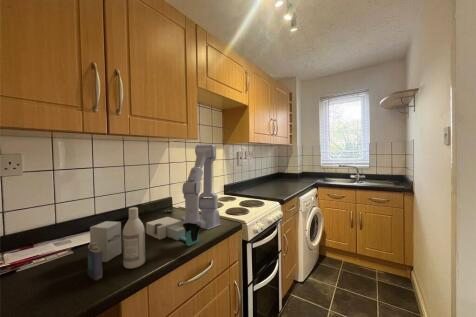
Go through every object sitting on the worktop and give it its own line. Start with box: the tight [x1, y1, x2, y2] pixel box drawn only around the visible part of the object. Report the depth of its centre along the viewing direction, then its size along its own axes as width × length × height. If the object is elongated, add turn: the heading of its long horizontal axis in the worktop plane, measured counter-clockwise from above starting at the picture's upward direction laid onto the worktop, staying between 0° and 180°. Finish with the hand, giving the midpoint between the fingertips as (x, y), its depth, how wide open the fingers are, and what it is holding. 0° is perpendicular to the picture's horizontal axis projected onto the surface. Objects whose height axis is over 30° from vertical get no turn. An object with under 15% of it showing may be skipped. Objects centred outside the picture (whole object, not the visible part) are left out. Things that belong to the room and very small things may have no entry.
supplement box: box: [89, 220, 122, 263], centre depth 78 cm, size 7×7×13 cm
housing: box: [145, 216, 182, 240], centre depth 102 cm, size 12×12×5 cm
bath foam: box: [122, 206, 146, 270], centre depth 72 cm, size 7×7×20 cm
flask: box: [87, 242, 104, 281], centre depth 66 cm, size 9×3×11 cm, turn 49°
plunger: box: [155, 223, 161, 234], centre depth 97 cm, size 3×3×4 cm
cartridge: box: [166, 225, 200, 247], centre depth 93 cm, size 6×20×6 cm, turn 52°
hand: (192, 239), depth 88 cm, fingers closed on cartridge, 2 cm apart
